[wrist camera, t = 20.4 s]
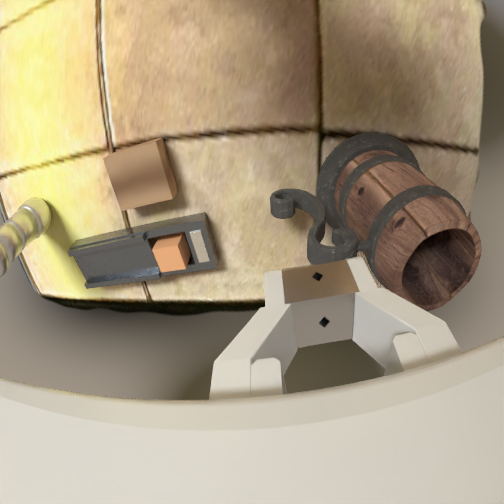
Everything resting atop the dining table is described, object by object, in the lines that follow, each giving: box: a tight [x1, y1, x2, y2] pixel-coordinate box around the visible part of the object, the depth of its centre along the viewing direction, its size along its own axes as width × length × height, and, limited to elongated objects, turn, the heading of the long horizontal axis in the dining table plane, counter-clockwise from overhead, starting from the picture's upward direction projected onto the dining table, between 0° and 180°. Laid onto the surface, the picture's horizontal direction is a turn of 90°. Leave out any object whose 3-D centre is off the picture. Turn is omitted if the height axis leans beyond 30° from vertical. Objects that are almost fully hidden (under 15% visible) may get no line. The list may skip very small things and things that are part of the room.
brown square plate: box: [103, 137, 178, 211], centre depth 37 cm, size 8×8×3 cm
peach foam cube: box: [152, 232, 191, 272], centre depth 43 cm, size 4×4×4 cm
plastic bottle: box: [0, 198, 51, 277], centre depth 33 cm, size 6×7×20 cm
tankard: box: [270, 132, 481, 311], centre depth 31 cm, size 24×17×20 cm
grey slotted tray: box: [68, 213, 219, 288], centre depth 44 cm, size 8×24×4 cm, turn 101°
